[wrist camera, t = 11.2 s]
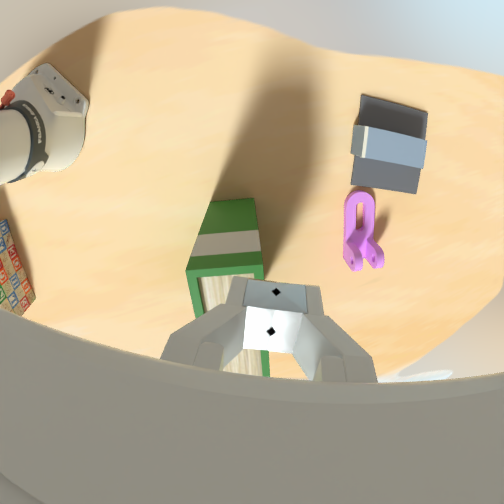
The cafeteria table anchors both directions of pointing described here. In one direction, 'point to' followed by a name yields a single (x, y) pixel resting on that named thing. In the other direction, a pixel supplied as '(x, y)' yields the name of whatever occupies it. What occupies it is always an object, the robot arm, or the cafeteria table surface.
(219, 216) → the hardback book
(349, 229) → the bracket
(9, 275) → the stack of blocks
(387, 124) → the mat
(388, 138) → the slate block
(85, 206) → the cafeteria table surface
